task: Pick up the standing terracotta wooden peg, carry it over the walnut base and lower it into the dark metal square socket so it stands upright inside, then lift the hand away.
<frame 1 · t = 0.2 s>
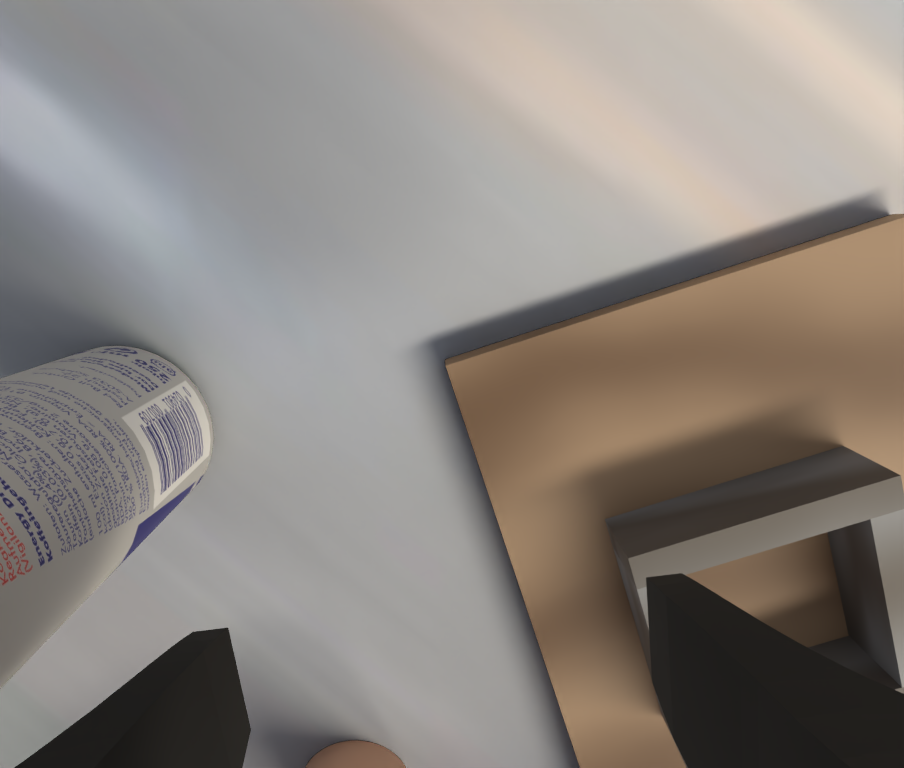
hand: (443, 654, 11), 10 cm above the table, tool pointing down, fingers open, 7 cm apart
energy drink: (134, 426, 20), on the table
socket base: (734, 571, 22), on the table
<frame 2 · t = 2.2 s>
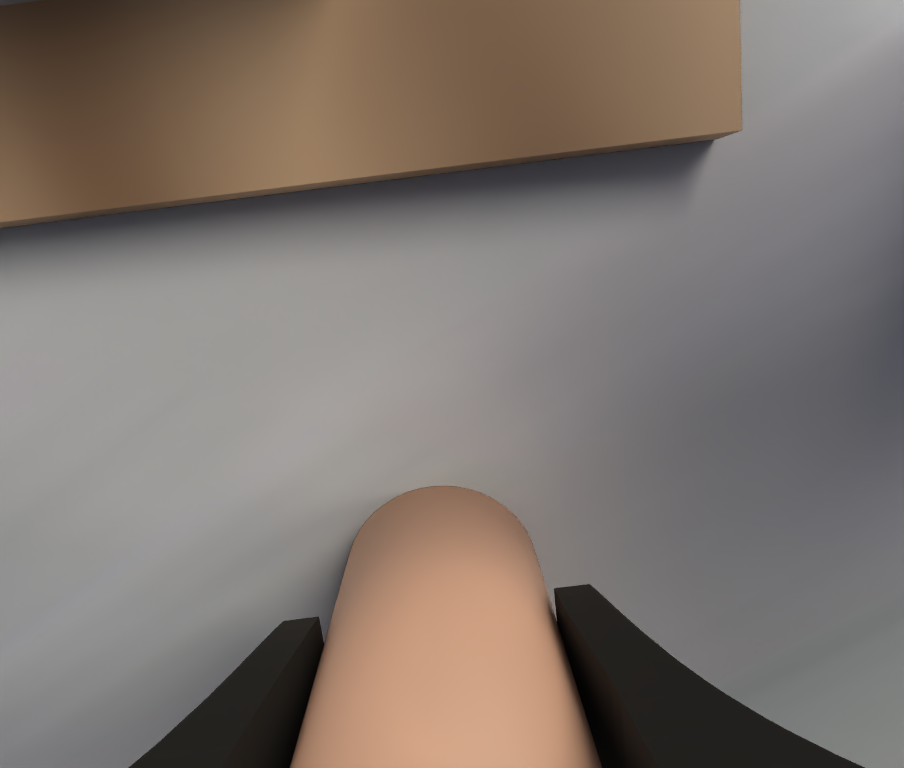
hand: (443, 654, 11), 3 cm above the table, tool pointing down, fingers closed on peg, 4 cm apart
peg: (442, 575, 13), on the table, touching gripper
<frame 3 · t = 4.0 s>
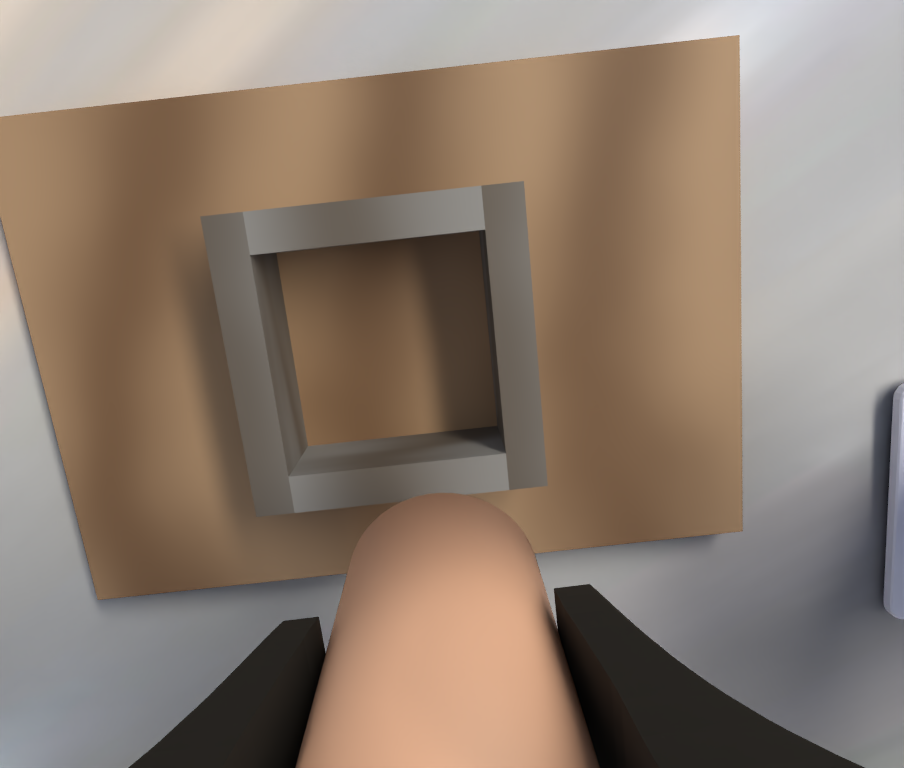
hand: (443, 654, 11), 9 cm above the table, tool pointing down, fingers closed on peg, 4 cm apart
socket base: (393, 337, 19), on the table
peg: (443, 581, 14), point 7 cm above the table, touching gripper
when the fingers open (5 cm above the table, at t = 6.2 s): peg drops 1 cm, resting on socket base.
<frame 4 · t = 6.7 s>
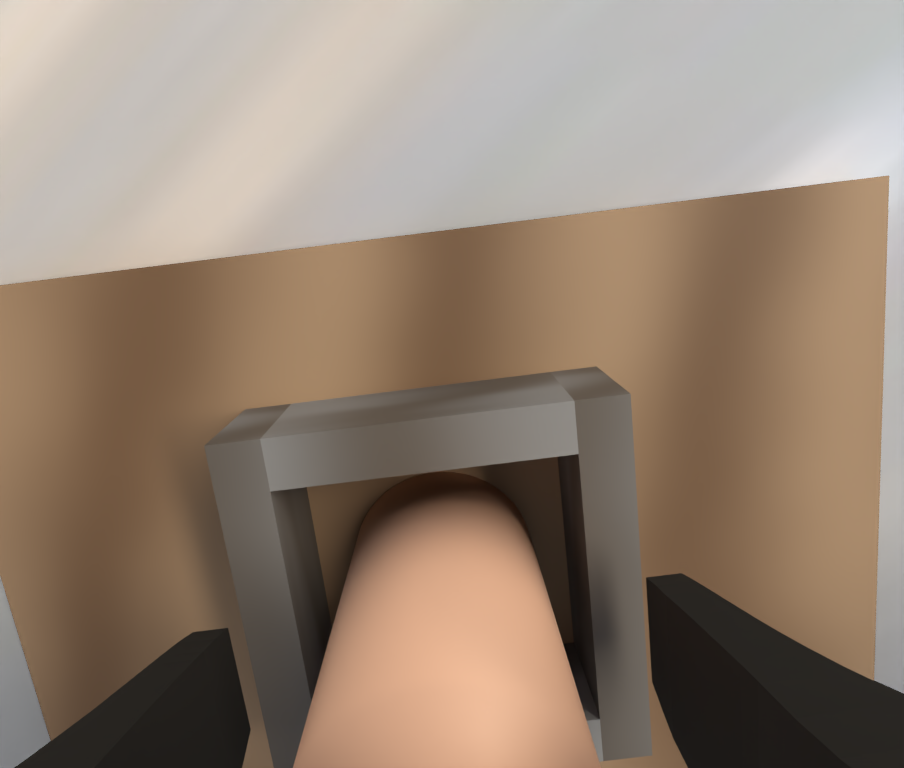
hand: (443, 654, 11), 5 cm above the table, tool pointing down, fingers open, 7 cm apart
socket base: (442, 529, 16), on the table
peg: (443, 554, 15), point 1 cm above the table, touching socket base
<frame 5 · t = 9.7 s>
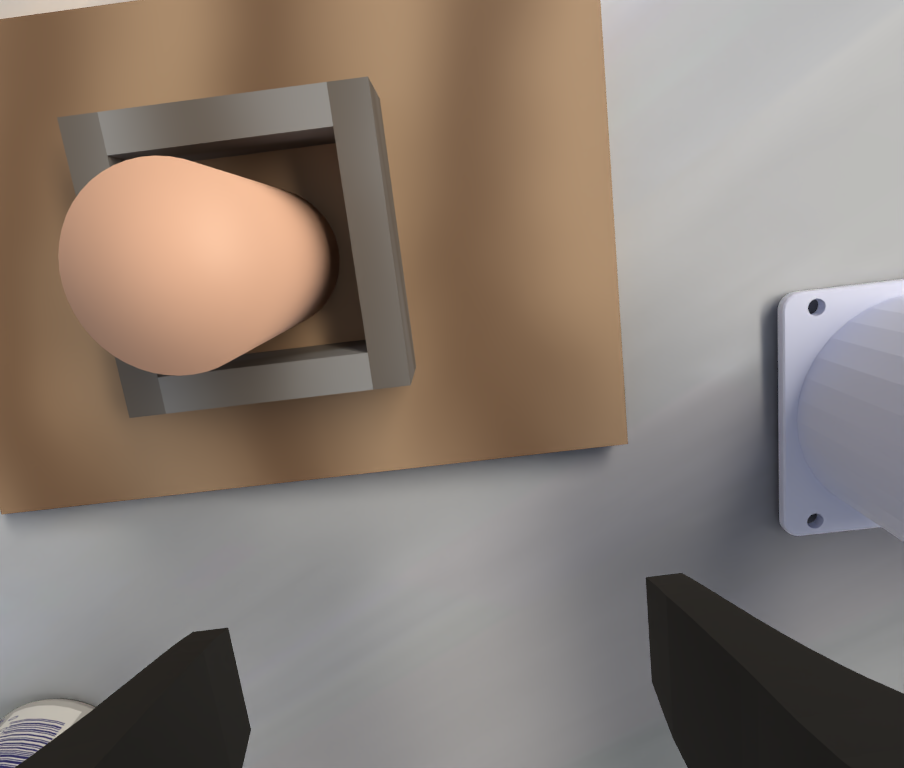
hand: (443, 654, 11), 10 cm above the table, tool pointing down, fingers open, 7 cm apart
energy drink: (71, 750, 24), on the table
socket base: (278, 253, 20), on the table
peg: (270, 259, 19), point 1 cm above the table, touching socket base
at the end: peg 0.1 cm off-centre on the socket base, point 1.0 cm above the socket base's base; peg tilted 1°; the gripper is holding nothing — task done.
